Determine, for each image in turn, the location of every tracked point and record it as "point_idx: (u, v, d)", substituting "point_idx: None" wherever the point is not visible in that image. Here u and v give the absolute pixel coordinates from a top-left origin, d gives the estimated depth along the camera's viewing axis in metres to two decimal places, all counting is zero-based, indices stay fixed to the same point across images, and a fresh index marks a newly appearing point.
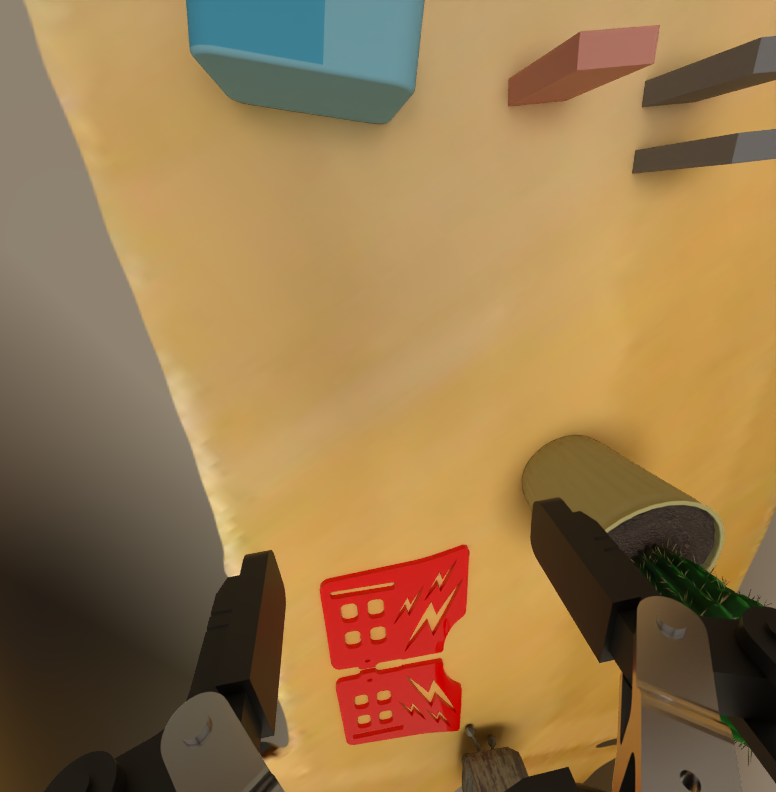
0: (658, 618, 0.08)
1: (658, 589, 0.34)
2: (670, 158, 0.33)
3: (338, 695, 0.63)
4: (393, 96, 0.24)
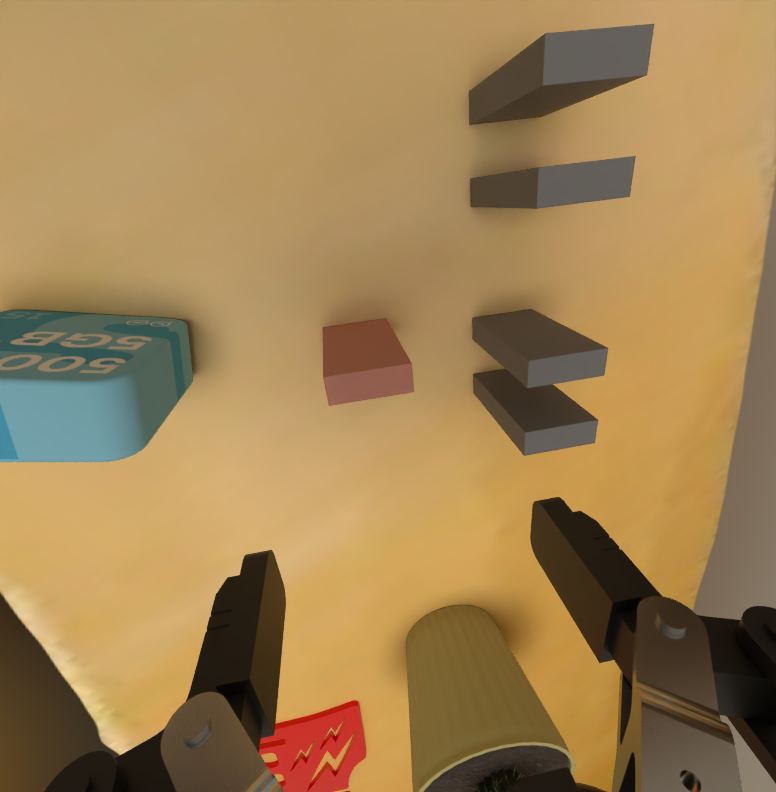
0: (658, 618, 0.08)
1: None
2: (492, 407, 0.32)
3: None
4: None
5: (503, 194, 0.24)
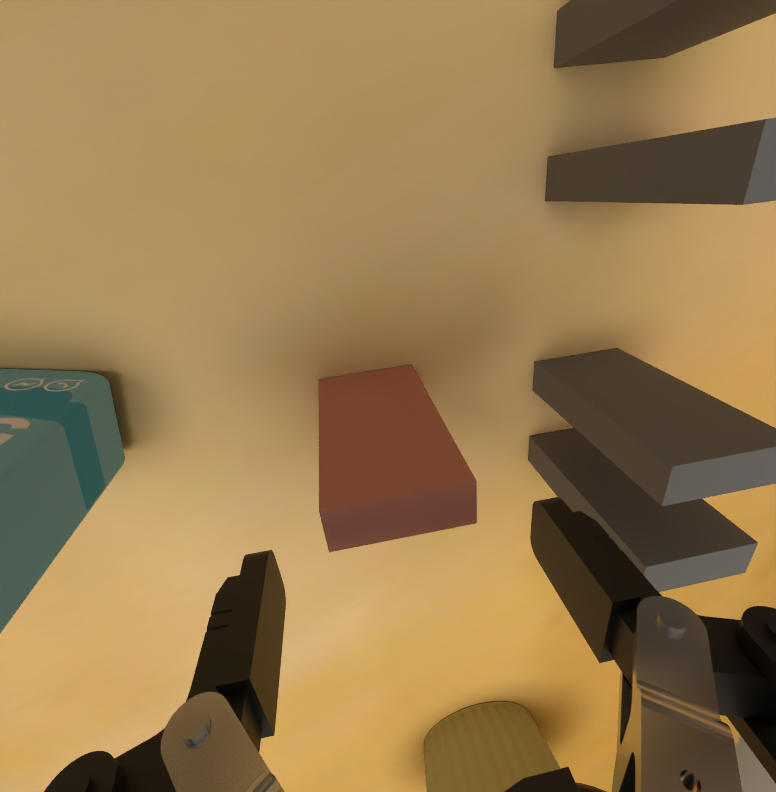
0: (658, 618, 0.08)
1: None
2: (566, 494, 0.22)
3: None
4: None
5: (634, 178, 0.14)
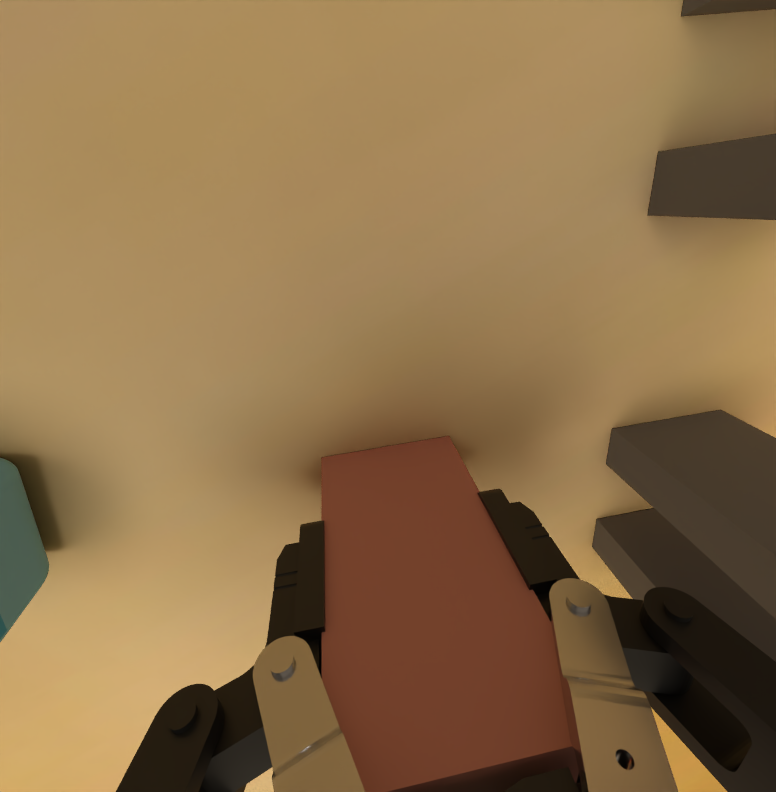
0: (567, 598, 0.09)
1: None
2: None
3: None
4: None
5: None
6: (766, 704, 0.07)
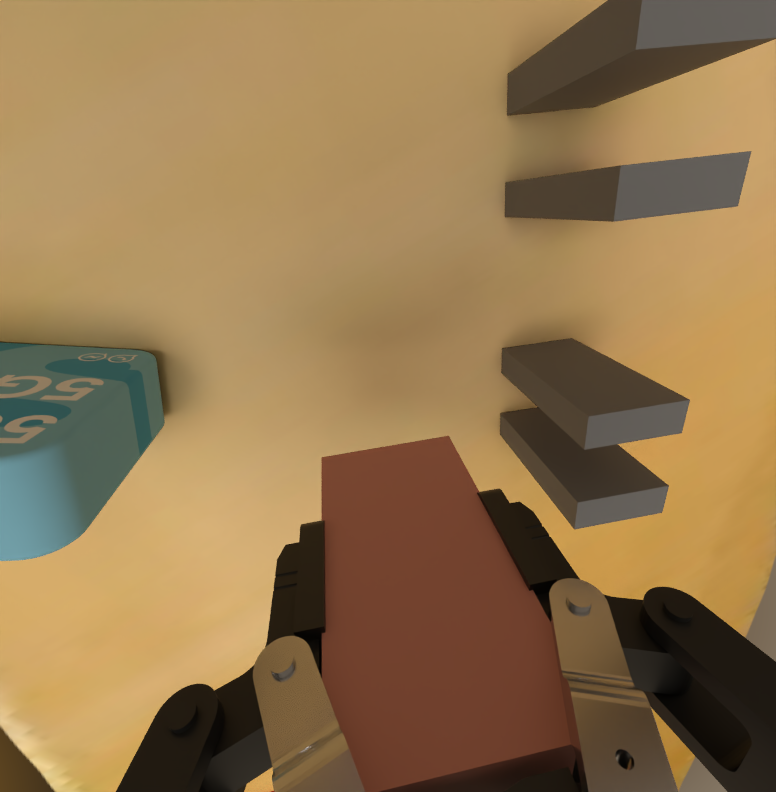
0: (567, 598, 0.09)
1: None
2: (526, 457, 0.26)
3: None
4: None
5: (557, 201, 0.18)
6: (766, 704, 0.07)
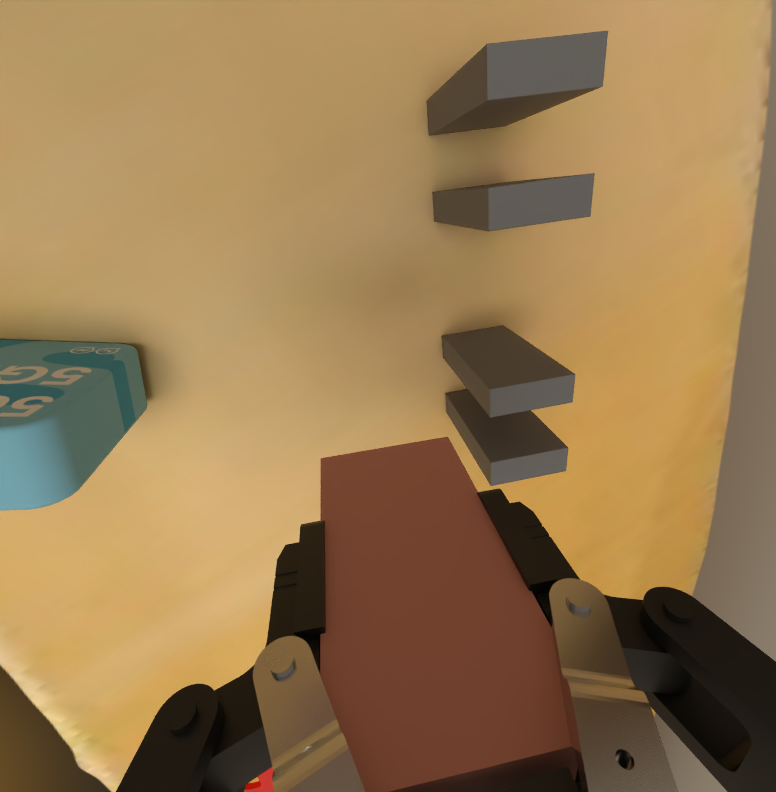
0: (567, 598, 0.09)
1: None
2: (462, 429, 0.30)
3: None
4: None
5: (460, 212, 0.22)
6: (766, 704, 0.07)
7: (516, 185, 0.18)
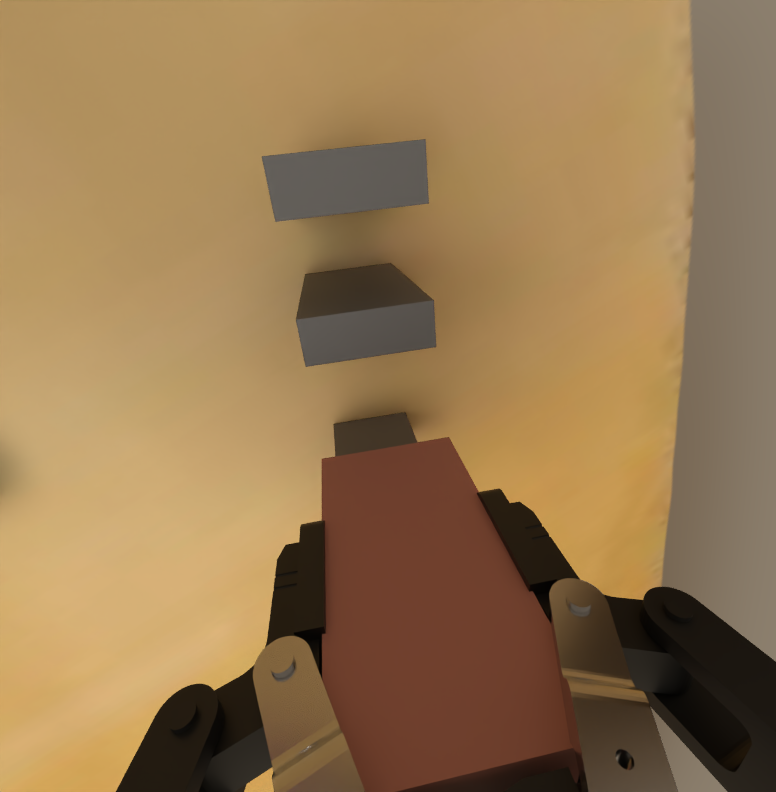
0: (567, 598, 0.09)
1: None
2: None
3: None
4: None
5: None
6: (767, 704, 0.07)
7: (332, 316, 0.14)
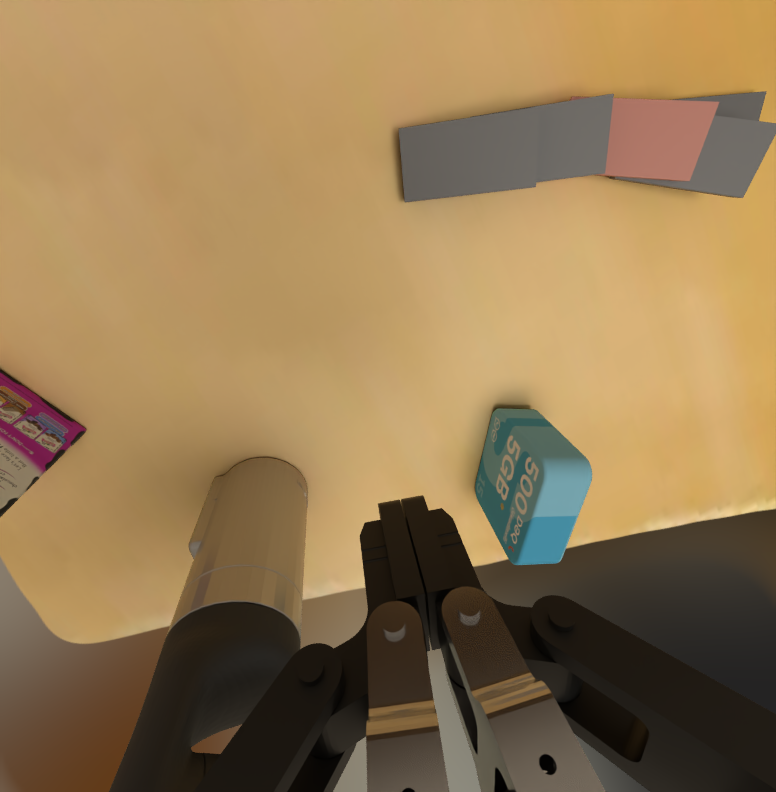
0: (457, 606, 0.09)
1: None
2: None
3: None
4: None
5: None
6: (652, 691, 0.07)
7: None
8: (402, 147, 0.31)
